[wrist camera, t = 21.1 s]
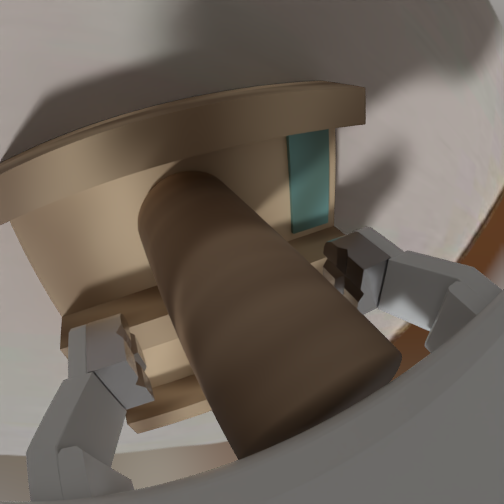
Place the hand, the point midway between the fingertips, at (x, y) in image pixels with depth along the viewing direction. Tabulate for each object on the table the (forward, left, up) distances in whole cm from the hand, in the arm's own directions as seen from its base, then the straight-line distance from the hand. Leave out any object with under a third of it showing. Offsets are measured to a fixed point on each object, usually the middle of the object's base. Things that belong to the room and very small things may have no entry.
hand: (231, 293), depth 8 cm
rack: (0, -4, -6) cm, 7 cm away
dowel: (0, 0, -5) cm, 5 cm away
